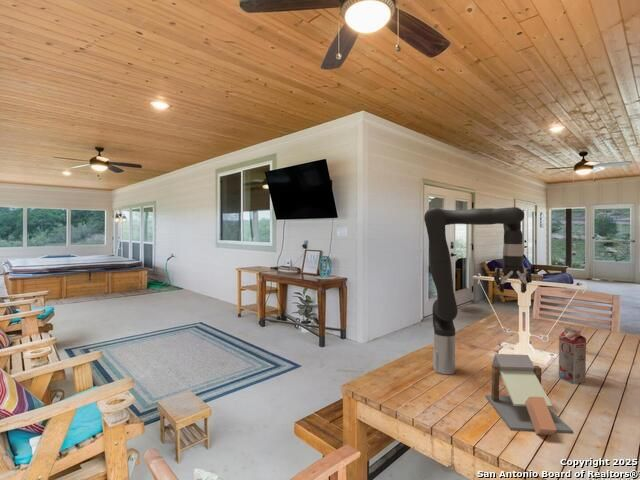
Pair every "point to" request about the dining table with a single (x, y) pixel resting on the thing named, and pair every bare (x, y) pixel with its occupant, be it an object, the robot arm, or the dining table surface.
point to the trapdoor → (519, 378)
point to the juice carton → (572, 356)
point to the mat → (522, 416)
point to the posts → (496, 380)
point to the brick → (540, 416)
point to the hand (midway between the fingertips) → (512, 292)
